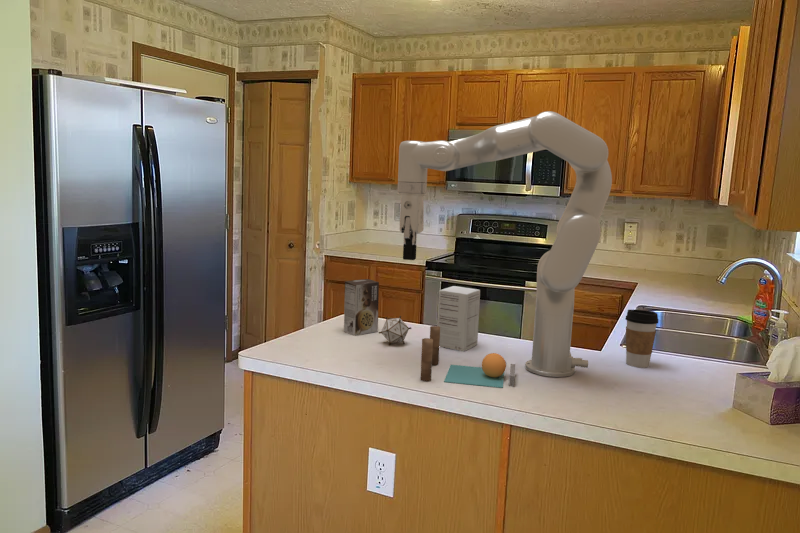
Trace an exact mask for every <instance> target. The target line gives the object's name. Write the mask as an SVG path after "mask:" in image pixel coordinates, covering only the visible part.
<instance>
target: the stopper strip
mask: <svg viewBox="0 0 800 533" xmlns="http://www.w3.org/2000/svg"><path fill="white" fill-rule="evenodd" d="M515 377H516V363H510V367H509V380H508V381H509V383H508V386H509V387H515Z"/></svg>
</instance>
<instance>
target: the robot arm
mask: <svg viewBox="0 0 800 533" xmlns="http://www.w3.org/2000/svg"><path fill="white" fill-rule="evenodd" d="M544 150H546V151H548V152H550V153H552V154H553V155H555V156H557V157H559V158H560V159H562V160H564V161H565V162H567V163H568V165H569V166H570V167H571V168H572V169H573V170H574V172H575V176H576V179H575V184H574V188H573V190H572V193H571V195H570V198H569V200H568V202H567V204H566V207H565V209H564V211H563V213H562V215H561V217H560V219H559V220H558V223H557V225H556V236H555V240H554V242H553V244H552V246H551V247H550V250H548V251H546V252H545V253H543V255H542V256H541V257H540V259H539V260H538V263H537V269H536V293H535V294H536V296H535V297H536V298H535V310H534V322H533V323H534V324H533V325H534V326H533V336H532V337H533V338H532V351H531V359H529V360H527V361H526V362H525V363H524V365H525V366H524V367H525V369H526V370H527V371H529V372H530V373H532V374H536V375H540V376H544V377H548V378H549V377H550V378H564V377H565V378H566V377H570V376H572V375H575V372H576V367H578V368H579V367H580V368H583V369H584V368H586V369H589V360H588V359H583V358H581V357H574V356H572V353H571V345H572V344H571V343H572V342H571V341H572V335H573V334H572V332H573V331H572V330H573V320H574V319H573V318H574V311H575V309H574V308H575V307H574V306H575V290H576V289H575V288H576V287H578V285H579V284H580V282H581V281H582V278H583V277H584V275H585V273H586V270H587V269H588V267H589V265H590V263H591V260H592V258H593V255H594V254H595V251H596V249H597V247H598V245H599V243H600V239H601V235H602V234H601V225H600V223H599V220H600V219H601V215H602V214H603V212H604V209H605V205H606V204H607V201H608V199H609V196H610V194H611V191H612V190H611V189H612V184H613V176H612V170H611V167H610V164H609V161H608V159H609V153H610V152H609V148H608V145H607V143H606V142H605V140H603V138H602V137H600V136H598V135H597V134H595V133H594V132H591V131H590V130H588V129H587V128H585V127H583V126H581V125H579V124H577V123H575V122H574V121H572V120H570V119H568V118H567V117H565V116H563V115H561V114H560V113H558V112H556V111H553V110H551V111H550V110H549V111H548V110H546V111H542V112H539V114H537V115H535V116H531V117H525V118H523V119H519V120H515V121H511V122H505V123H502V124H498V125H494V126H491V127H489V128H487V129H485V130H483V131H481V132H479V133H477V134H474V135H471V136H467V137H463V138H459V139H454V140H451V141H450V140H449V141H447V140H442V139H441V140H433V141H421V140H404V141H401V142H400V143H399V147H398V166H397V167H398V168H397V169H398V172H397V195H399V196H400V209H399V232H400V233H401V234H403V250H402V259H403V261H415V260H416V259H417V238H418V234H420V233H422V232H423V231H424V218H425V217H424V215H425V214H424V212H425V211H424V209H425V208H424V205H425V204H424V196H427V190H428V189H427V186H428V184H427V183H428V170H429V169H431V170H435V171H441V172H449V171H453V170H458V169H462V168H466V167H470V166H474V165H479V164H483V163H489V162H490V163H491V162H496V161H500V160H501V161H502V160H505V159H509V158H514V157H517V156H522V155H526V154H531V153H535V152H539V151H544Z"/></svg>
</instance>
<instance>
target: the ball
mask: <svg viewBox="0 0 800 533" xmlns="http://www.w3.org/2000/svg"><path fill="white" fill-rule="evenodd" d="M481 367H482V369H483V371H484V373H485V374H486V375H487V376H489V377H493V378H495V377H499V376H501V375H502V374H503V373H504V374H505V371H506V369H507V362H506V360H505V358H504V357H503V356H502V355H501V354H499V353H497V352H495V353H494V352H493V353H492V352H491V353H488V354H486V356H484V358H483V359H482V361H481Z"/></svg>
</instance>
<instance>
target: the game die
mask: <svg viewBox="0 0 800 533" xmlns="http://www.w3.org/2000/svg"><path fill="white" fill-rule="evenodd" d="M384 318H385V321H384V325H383V327H382V329H381V331H378V334H382V336H384V338H385V339H386V340H387V342H388V346H391V344H394V343H402V344H404V345H405V343H406V342H405V338H406V336H407V334H408V332H409V331H410V330H412V327H411V326H410V327H409V326H407V324H406V323H405V322H404V321H403V319H401V318H402V315H399V317H396V318H394V317H393V318H388V316H387V317H386V316H385V317H384Z"/></svg>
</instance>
